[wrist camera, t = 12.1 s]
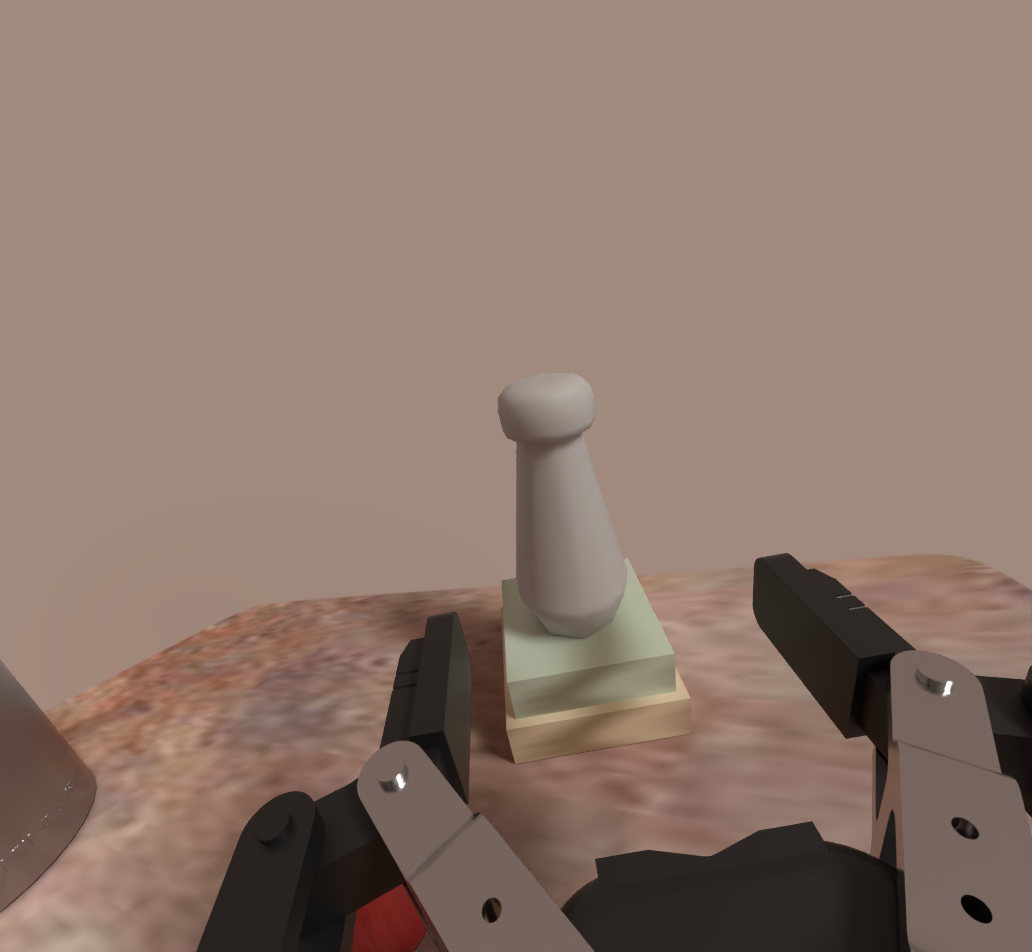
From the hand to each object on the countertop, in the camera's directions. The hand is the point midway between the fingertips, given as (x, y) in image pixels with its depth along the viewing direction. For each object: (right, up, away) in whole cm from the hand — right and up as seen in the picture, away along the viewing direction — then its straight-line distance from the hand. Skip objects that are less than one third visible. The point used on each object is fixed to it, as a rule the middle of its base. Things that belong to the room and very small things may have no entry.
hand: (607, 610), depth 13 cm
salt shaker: (+1, -4, +13) cm, 14 cm away
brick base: (+2, -8, +15) cm, 18 cm away
